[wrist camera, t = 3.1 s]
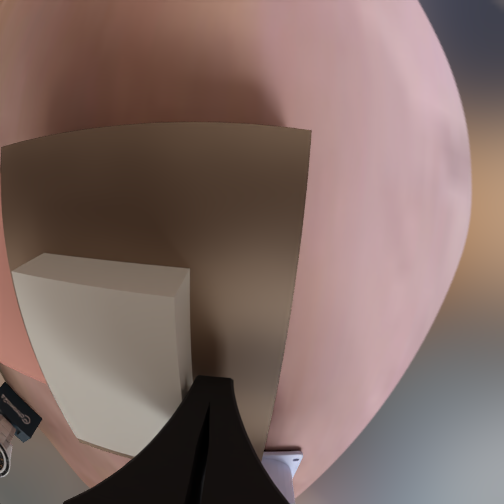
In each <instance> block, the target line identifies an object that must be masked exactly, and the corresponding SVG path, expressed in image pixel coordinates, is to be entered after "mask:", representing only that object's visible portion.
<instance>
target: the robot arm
mask: <svg viewBox="0 0 504 504" xmlns="http://www.w3.org/2000/svg"><path fill="white" fill-rule="evenodd" d="M302 458H303V452H301V451H283V452H264V453H263V457H262V461H260V459H259V458H258V456H257V454H256V452H255V450H254V448H253V446H252V444H251V441H250V439H249V437H248V435H247V432H246V430H245V427H244V424H243V421H242V419H241V416H240V413H239V409H238V406H237V402H236V398H235V392H234V380H233V379H231V378H226V377H215V376H205V375H198V376H196V377H195V379H194V382H193V384H192V386H191V387H190V389H189V391H188V393H187V394H186V396H185V398H184V399H183V401H182V402H181V404H180V405H179V407H178V408H177V409H176V411H175V412H174V414H173V415H172V417H171V418H170V419H169V420H168V422H167V423H166V424H165V425H164V427H163V428H162V429H161V430H160V431H159V433H158V434H157V435H156V436H155V437H154V438H153V439H152V440H151V442H150V443H149V444H148V445H147V446H146V447H145V448H144V449H143V450H142V451H141V452H139V453H138V454H137V455H136V456H135V457H134V458H133V459H132V460H130V461H129V462H128V463H127V464H126V465H125V466H123V467H122V468H121V469H119V470H118V471H117V472H115V473H114V474H113V475H111V476H110V477H108V478H107V479H105V480H104V481H102V482H100V483H99V484H97V485H96V486H94V487H92V488H91V489H89V490H87V491H85V492H83V493H81V494H79V495H77V496H75V497H73V498H71V499H68V500H66V501H64V503H63V504H295V498H294V490H293V481H292V478H293V476H294V474H295V472H296V470H297V468H298V466H299V464H300V462H301V460H302Z"/></svg>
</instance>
